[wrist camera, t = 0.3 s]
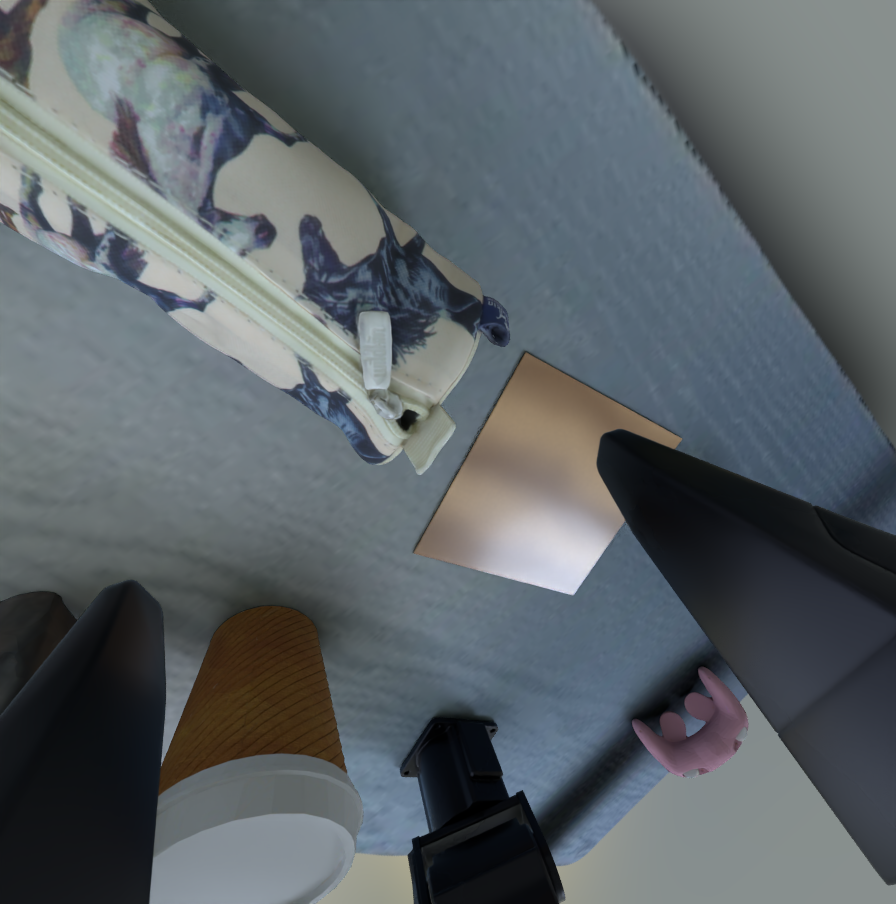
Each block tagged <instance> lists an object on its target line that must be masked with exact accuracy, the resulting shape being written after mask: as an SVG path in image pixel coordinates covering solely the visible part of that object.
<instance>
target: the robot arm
mask: <svg viewBox="0 0 896 904" xmlns="http://www.w3.org/2000/svg"><path fill="white" fill-rule="evenodd" d="M596 466H597V470H598V473H599V475H600V477H601V478H602V480H603V482H604V484H605V485H606V487H607V489H608V491H609V492H610V494H611V496H612V498H613V500H614V501H615V503H616V505H617V507H618V508H619V510H620V512H621V514H622V515H623V517H624V519H625V521H626V523H627V524H628V526H629V527H630V529H631V531H632V532H633V534H634V535H635V537H636V538H637V540H638V541H639V543H640V544H641V545H642V547H643V548H644V550H645V551H646V552H647V554H648V555H649V557H650V558H651V559H652V561H653V562H654V563H655V565H656V566H657V568H658V569H659V570H660V572H661V573H662V575H663V576H664V577H665V579H666V580H667V581H668V583H669V584H670V586H671V587H672V588H673V590H674V591H675V593H676V594H677V595H678V597H679V598H680V600H681V601H682V602H683V604H684V605H685V606H686V608H687V609H688V611H689V612H690V613H691V615H692V616H693V618H694V619H695V620H696V622H697V623H698V625H699V626H700V627H701V629H702V630H703V631H704V633H705V634H706V636H707V637H708V638H709V640H710V641H711V643H712V644H713V645H714V647H715V648H716V649H717V651H718V652H719V654H720V655H721V656H722V658H723V659H724V661H725V662H726V663H727V665H728V666H729V668H730V669H731V670H732V672H733V673H734V674H735V676H736V677H737V679H738V680H739V681H740V683H741V684H742V686H743V687H744V688H745V690H746V691H747V693H748V694H749V695H750V697H751V698H752V699H753V701H754V702H755V703H756V705H757V706H758V708H759V709H760V711H761V712H762V713H763V714H764V716H765V717H766V719H767V720H768V722H769V723H770V724H771V726H772V727H773V729H774V730H775V731H776V732H777V733H778V736H779V737H780V738H781V740H782V741H783V743H784V744H785V746H786V747H787V748H788V750H789V751H790V753H791V754H792V755H793V757H794V758H795V760H796V761H797V762H798V764H799V765H800V767H801V768H802V769H803V771H804V772H805V774H806V775H807V776H808V778H809V779H810V780H811V782H812V783H813V785H814V786H815V787H816V789H817V790H818V792H819V793H820V794H821V796H822V797H823V798H824V799H825V801H826V803H827V804H828V805H829V807H830V808H831V810H832V811H833V812H834V814H835V815H836V817H837V818H838V819H839V820H840V822H841V823H842V825H843V826H844V828H845V829H846V830H847V832H848V833H849V835H850V836H851V837H852V839H853V840H854V841H855V843H856V844H857V846H858V847H859V848H860V850H861V851H862V852H863V854H864V855H865V857H866V858H867V859H868V861H869V862H870V864H871V865H872V866H873V868H874V869H875V870H876V872H877V873H878V874H879V876H880V877H881V878H882V879H883V880H884V882H885V883H886V884H887V885H894V884H896V535H893V534H890V533H887V532H884V531H882V530H879V529H876V528H873V527H871V526H868V525H865V524H863V523H860V522H857V521H855V520H852V519H850V518H847V517H844V516H842V515H839V514H837V513H834V512H831V511H829V510H826V509H824V508H821V507H819V506H812V504H811V503H809V502H806V501H803V500H801V499H798V498H796V497H793V496H791V495H788V494H786V493H783V492H781V491H778V490H776V489H773V488H771V487H768V486H766V485H763V484H761V483H758V482H756V481H753V480H751V479H748V478H746V477H743V476H741V475H738V474H735V473H733V472H730V471H728V470H725V469H723V468H720V467H718V466H715V465H713V464H710V463H708V462H705V461H703V460H700V459H698V458H695V457H693V456H690V455H688V454H685V453H683V452H680V451H678V450H675V449H672V448H670V447H667V446H665V445H662V444H660V443H657V442H655V441H652V440H650V439H647V438H645V437H642V436H640V435H637V434H635V433H632V432H630V431H627V430H624V429H616V430H613V431H610V432H607V433H604V434H603V435H602V436H601V438H600V443H599V449H598V455H597V461H596ZM165 706H166V675H165V650H164V625H163V612H162V608H161V606H160V604H159V603H158V601H157V600H156V599H155V598H154V597H153V596H151V595H150V594H149V593H148V592H147V591H146V590H145V589H144V588H143V587H142V586H141V585H140V584H139V583H138V582H137V581H135V580H126V581H123V582H120V583H116V584H113V585H110V586H108V587H106V588H104V589H103V590H102V591H101V592H100V593H99V595H98V596H97V597H96V598H95V600H94V601H93V602H92V603H91V605H90V606H89V607H88V608H87V609H86V611H85V612H84V613H83V614H82V616H81V617H80V618H79V619H78V621H77V622H76V623H75V624H74V625H73V627H72V628H71V629H70V630H69V632H68V633H67V634H66V635H65V637H64V638H63V639H62V640H61V642H60V643H59V644H58V645H57V646H56V648H55V649H54V650H53V651H52V653H51V654H50V655H49V656H48V658H47V659H46V660H45V661H44V662H43V664H42V665H41V666H40V667H39V669H38V670H37V671H36V672H35V674H34V675H33V676H32V677H31V679H30V680H29V681H28V682H27V683H26V685H25V686H24V687H23V688H22V690H21V691H20V692H19V693H18V695H17V696H16V697H15V698H14V699H13V701H12V702H11V703H10V704H9V706H8V707H7V708H6V709H5V711H4V712H3V713H2V714H1V716H0V904H149V903H150V891H151V879H152V867H153V854H154V842H155V830H156V818H157V806H158V794H159V781H160V769H161V757H162V745H163V733H164V721H165ZM497 731H498V727H497V724H496V723H495V722H485V721H473V720H462V719H450V718H434V719H433V720H431V722H430V723H429V725H428V726H427V728H426V729H425V731H424V732H423V734H422V735H421V737H420V738H419V740H418V742H417V743H416V745H415V746H414V748H413V749H412V751H411V752H410V754H409V755H408V757H407V758H406V760H405V762H404V763H403V765H402V766H401V768H400V773H401V776H402V777H418V782H419V786H420V791H421V796H422V800H423V805H424V810H425V814H426V819H427V823H428V828H429V833H428V834H426V835H424V836H422V837H419V836H418V837H415V838H413V839H412V844H413V850H412V851H411V852H410V853H409V854H408V861H409V866H410V872H411V878H412V885H413V898H414V904H559V903H561V902H563V901H565V894H564V890H563V886H562V883H561V880H560V877H559V874H558V871H557V868H556V865H555V863H554V860H553V857H552V855H551V852H550V850H549V847H548V845H547V843H546V840H545V838H544V836H543V834H542V832H541V829H540V827H539V825H538V823H537V821H536V818H535V816H534V814H533V812H532V810H531V807H530V805H529V803H528V801H527V799H526V796H525V794H524V792H523V790H522V791H520V792H517V793H516V795H514V796H512V797H510V798H509V795H508V793H507V790H506V787H505V785H504V782H503V779H502V775H503V772H502V769H501V767H500V764H499V761H498V759H497V756H496V753H495V751H494V748H493V745H492V743H491V739H492V738H493V737H494V735H495V734H496V732H497Z"/></svg>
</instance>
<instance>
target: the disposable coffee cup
mask: <svg viewBox="0 0 896 904" xmlns="http://www.w3.org/2000/svg"><path fill="white" fill-rule="evenodd" d="M319 645H320V644H319V640H318V633H317V629H316V627H315V625H314V624H313V622H312V621H311V620H310V619H309V618H308V617H307V616H305V615H304V614H302V613H300V612H298V611H296V610H293V609H290V608H286V607H281V606H262V607H257V608H253V609H249V610H246V611H243V612H241V613H238V614H236V615H235V616H233V617H231V618H229V619H228V620H227V621H226V622H224V623H223V624H222V625H221V626H220V627H219V628H218V629H217V631H216V632H215V633H214V635H213V637H212V639H211V642H210V645H209V648H208V650H207V653H206V655H205V658H204V660H203V663H202V665H201V668H200V670H199V673H198V675H197V678H196V681H195V683H194V686H193V688H192V691H191V693H190V695H189V698H188V701H187V703H186V706H185V708H184V711H183V713H182V716H181V718H180V721H179V724H178V726H177V728H176V731H175V733H174V736H173V739H172V741H171V744H170V746H169V749H168V751H167V753H166V756H165V758H164V761H163V764H162V766H161V769H160V781H159V794H158V806H157V818H156V830H155V842H154V854H153V867H152V879H151V891H150V903H149V904H316V903H317V902H318V901H319V900H321V899H322V898H323V897H325V896H326V895H327V894H328V893H329V892H331V891H332V890H333V889H335V888H336V887H337V885H338V884H339V883H340V882H341V881H342V879H343V878H344V877H345V876H346V874H347V873H348V871H349V869H350V868H351V866H352V862H353V858H354V855H355V850H356V839H357V835H358V832H359V830H360V827H361V825H362V822H363V806H362V801H361V798H360V796H359V794H358V791H357V790H356V789H355V788H354V785H353V783H352V782H351V780H350V778H349V777H348V775H347V770H346V766H345V763H344V756H343V753H342V750H341V748H342V746H341V743H340V739H339V733H338V729H337V723H336V719H335V716H334V715H335V713H334V710H333V707H332V705H333V704H332V700H331V697H330V696H331V694H330V691H329V688H328V686H329V684H328V681H327V678H326V677H327V676H326V672H325V670H324V669H325V667H324V663H323V658H322V654H321V649H320V646H319Z"/></svg>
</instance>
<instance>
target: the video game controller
mask: <svg viewBox="0 0 896 904" xmlns="http://www.w3.org/2000/svg"><path fill="white" fill-rule="evenodd" d="M698 672H699V676H700V678H701V680H702V682H703V683H704V685H705V687H706V689H707V690H708V692H709V693H710V694H711V696H712V697H706V696H703V695H701V694H700V693H697V692H692V693H689V694H688V695H687V696H686V698H685V701H684V703H685V707H686V710H687V711H688V712H689V713H690V714H691V715H692V716H693V717H695V718H696V719H699V720H704V721H706V724H705V725H704V726H703V727H702V728H701V729H700V730H699V731H698V732H696V733H695V734H694V735H692V736H690V737H687V736H686V727H685V724H684V721H683V720H682V718H681V717H680V716H679V715H678V714H676V713H674V712H671V711H667V712H664V713H663V714H662V715H661V717H660V726H661V729H662V733H663V736H659V735H657V734H655V733H654V732H653V731H652V730H651V729H650V728H649V727H648V726H646V725H645V724H644V723H643V722H641V721H640V720H638V719H633V720H632V726H633V728H634V730H635V732H636V734H637V735H638V737H639V738H640V740H641V741H642V742H643V744H644V745H645V746H646V748H647V749H648V750H649V752H650V753H651V754H652V755H653V756H654V757H655V758H656V759H657V760H658V761H659V762H660V763H661V764H662V765H663V766H664V767H665V768H666V769H667V770H668V771H669V772H671V773H672V774H675V775H677V776H681V777H688V778H693V777H697V776H698V775H701V774H704V773H707V772H711V771H713V770H715V769H716V768H718V767H719V766H721V765H722V764H724V763H725V762H726V761H727V760H729V759H730V758H731V757H732V756H733V755H734V754H735V753H736V751H737V750H738V748H739V747H740V745H741V744H742V742H743V741H744V740H745V739H746V737H747V731H748V719H747V715H746V712H745V710H744V709H743V707H742V706H741V704H740V702H739V701H738V700H737V698H736V697H735V696H734V694H733V693H732V692H731V691H730V689H729V688H728V687H727V686H726V685H725V684H724V683H723V682H722V681H721V680H720V679H719V678H718V677H717V676H716V675H715V674H713V673H712V672H711V671H710V670H709V669H707V668H705V667H700V668H699V669H698Z"/></svg>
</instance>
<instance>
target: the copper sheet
mask: <svg viewBox="0 0 896 904" xmlns="http://www.w3.org/2000/svg"><path fill="white" fill-rule="evenodd" d="M616 429H624V430H627V431H630V432H632V433H635V434H637V435H640V436H642V437H645V438H647V439H650V440H652V441H655V442H657V443H660V444H662V445H665V446H667V447H670V448H672V449H675V448H676V447H677V446H678V444H679V443H680V441H681V440H682V438H680V437H678V436H676V435H675V434H673V433H671V432H669V431H667V430H666V429H664V428H662V427H660V426H658V425H657V424H655V423H653V422H651V421H649V420H647V419H646V418H644V417H642V416H640V415H638V414H637V413H635V412H633V411H631V410H629V409H628V408H626V407H624V406H622V405H620V404H619V403H617V402H615V401H613V400H611V399H609V398H608V397H606V396H604V395H602V394H600V393H599V392H597V391H595V390H593V389H591V388H590V387H588V386H586V385H584V384H582V383H581V382H579V381H577V380H575V379H573V378H571V377H570V376H568V375H566V374H564V373H562V372H561V371H559V370H557V369H555V368H553V367H552V366H550V365H548V364H546V363H544V362H543V361H541V360H539V359H537V358H535V357H533V356H532V355H530V354H528V353H526V352H525V353H524V355H523V357H522V359H521V361H520V362H519V364H518V366H517V368H516V370H515V371H514V373H513V375H512V377H511V378H510V380H509V382H508V384H507V386H506V387H505V389H504V391H503V393H502V395H501V396H500V398H499V400H498V402H497V404H496V405H495V407H494V409H493V411H492V412H491V414H490V416H489V418H488V420H487V421H486V423H485V425H484V427H483V429H482V430H481V432H480V434H479V436H478V437H477V439H476V441H475V443H474V445H473V446H472V448H471V450H470V452H469V454H468V455H467V457H466V459H465V461H464V463H463V464H462V466H461V468H460V470H459V471H458V473H457V475H456V477H455V479H454V480H453V482H452V484H451V486H450V488H449V489H448V491H447V493H446V495H445V497H444V498H443V500H442V502H441V504H440V505H439V507H438V509H437V511H436V513H435V514H434V516H433V518H432V520H431V522H430V523H429V525H428V527H427V529H426V530H425V532H424V534H423V536H422V538H421V539H420V541H419V543H418V545H417V547H416V548H415V550H414V552H413V553H414V554H418V555H421V556H425V557H429V558H433V559H437V560H440V561H444V562H448V563H452V564H456V565H459V566H463V567H467V568H471V569H475V570H479V571H482V572H486V573H490V574H494V575H498V576H501V577H505V578H509V579H513V580H517V581H520V582H524V583H528V584H532V585H536V586H539V587H543V588H547V589H551V590H555V591H558V592H562V593H566V594H570V595H574V594H575V592H576V591H577V589H578V588H579V586H580V585H581V584H582V582H583V581H584V579H585V578H586V576H587V575H588V573H589V572H590V571H591V569H592V568H593V566H594V565H595V563H596V562H597V561H598V559H599V558H600V556H601V555H602V553H603V552H604V550H605V549H606V548H607V546H608V545H609V543H610V542H611V540H612V539H613V538H614V536H615V535H616V533H617V532H618V530H619V529H620V527H621V526H622V525H623V523H624V522H625V519H624V517H623V515H622V514H621V512H620V510H619V508H618V507H617V505H616V503H615V501H614V500H613V498H612V496H611V494H610V492H609V491H608V489H607V487H606V485H605V484H604V482H603V480H602V478H601V477H600V475H599V473H598V470H597V466H596V461H597V455H598V449H599V443H600V438H601V436H602V435H603V434H604V433H607V432H610V431H613V430H616Z"/></svg>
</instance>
